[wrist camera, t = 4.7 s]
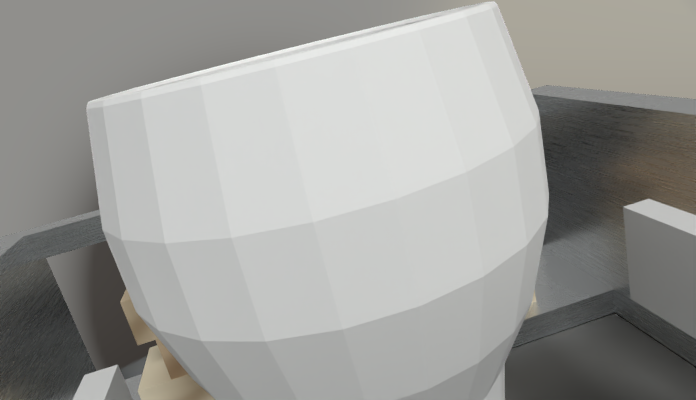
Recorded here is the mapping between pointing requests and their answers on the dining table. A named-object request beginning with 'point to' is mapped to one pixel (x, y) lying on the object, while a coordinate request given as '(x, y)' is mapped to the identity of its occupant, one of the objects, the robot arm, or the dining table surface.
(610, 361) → the dining table surface
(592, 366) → the dining table surface
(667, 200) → the grey open storage bin
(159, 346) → the offcut bundle
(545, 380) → the dining table surface
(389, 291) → the cup
